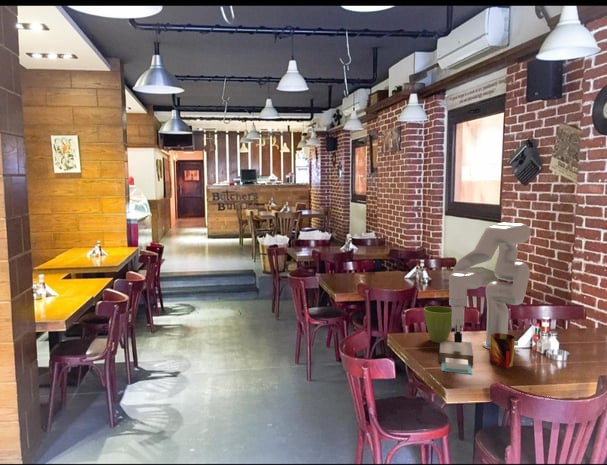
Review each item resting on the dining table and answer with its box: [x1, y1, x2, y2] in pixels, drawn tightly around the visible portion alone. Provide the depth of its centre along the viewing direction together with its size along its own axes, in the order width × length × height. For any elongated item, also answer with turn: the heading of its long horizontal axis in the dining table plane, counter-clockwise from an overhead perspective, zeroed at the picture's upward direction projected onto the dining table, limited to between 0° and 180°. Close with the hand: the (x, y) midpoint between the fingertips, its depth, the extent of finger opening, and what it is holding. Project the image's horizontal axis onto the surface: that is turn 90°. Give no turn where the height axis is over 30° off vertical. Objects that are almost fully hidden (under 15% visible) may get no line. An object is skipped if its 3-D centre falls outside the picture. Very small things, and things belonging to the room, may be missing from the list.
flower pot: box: [423, 305, 452, 344], centre depth 248 cm, size 15×15×16 cm
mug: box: [489, 333, 516, 369], centre depth 214 cm, size 10×14×12 cm
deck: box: [438, 339, 474, 366], centre depth 225 cm, size 14×20×4 cm
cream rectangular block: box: [445, 358, 468, 370], centre depth 210 cm, size 9×6×2 cm, turn 74°
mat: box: [440, 361, 473, 375], centre depth 210 cm, size 12×12×1 cm
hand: (458, 341), depth 221 cm, fingers closed
